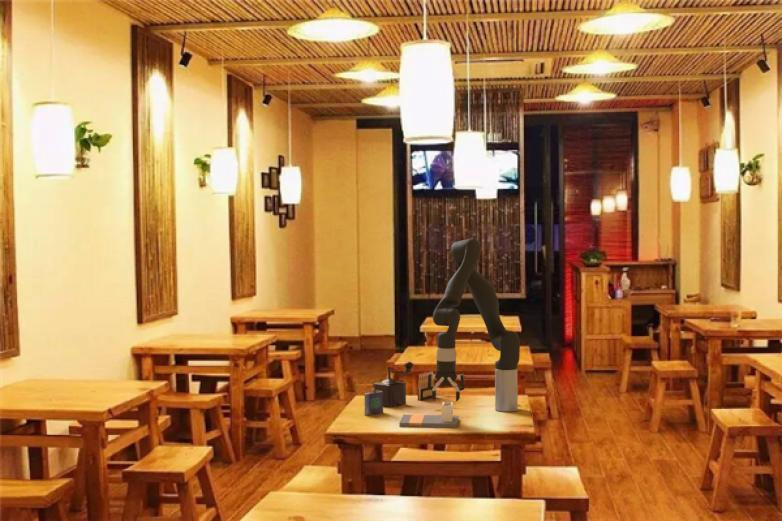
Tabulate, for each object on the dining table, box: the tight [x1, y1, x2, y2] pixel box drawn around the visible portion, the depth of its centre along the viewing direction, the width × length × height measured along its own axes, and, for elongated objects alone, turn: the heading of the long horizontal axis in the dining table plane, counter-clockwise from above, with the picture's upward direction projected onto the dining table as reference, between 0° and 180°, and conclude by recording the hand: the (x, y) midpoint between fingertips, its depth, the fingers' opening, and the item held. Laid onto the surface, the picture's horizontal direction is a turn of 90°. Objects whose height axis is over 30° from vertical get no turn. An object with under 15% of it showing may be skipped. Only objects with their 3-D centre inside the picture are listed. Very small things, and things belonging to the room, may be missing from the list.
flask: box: [363, 387, 384, 417], centre depth 383 cm, size 9×3×11 cm, turn 129°
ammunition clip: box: [417, 370, 435, 402], centre depth 414 cm, size 11×2×12 cm, turn 142°
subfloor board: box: [398, 414, 460, 429], centre depth 365 cm, size 22×15×2 cm
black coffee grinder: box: [372, 361, 414, 409], centre depth 404 cm, size 16×11×18 cm
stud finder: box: [441, 401, 454, 422], centre depth 364 cm, size 4×8×6 cm, turn 173°
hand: (445, 400), depth 364 cm, fingers open, 8 cm apart
